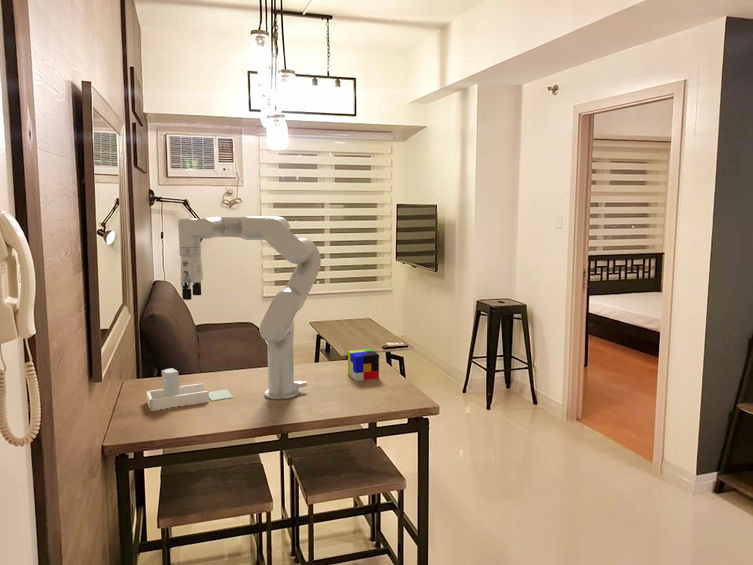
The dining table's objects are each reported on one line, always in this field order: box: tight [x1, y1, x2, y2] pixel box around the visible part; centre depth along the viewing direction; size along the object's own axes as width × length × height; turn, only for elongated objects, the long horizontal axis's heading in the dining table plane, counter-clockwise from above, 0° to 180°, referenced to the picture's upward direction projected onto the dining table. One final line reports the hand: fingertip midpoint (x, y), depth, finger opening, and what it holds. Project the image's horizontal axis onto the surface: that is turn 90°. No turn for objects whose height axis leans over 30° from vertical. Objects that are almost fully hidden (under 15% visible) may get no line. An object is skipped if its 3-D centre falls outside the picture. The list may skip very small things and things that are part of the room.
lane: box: [145, 382, 210, 412], centre depth 215 cm, size 20×11×4 cm, turn 117°
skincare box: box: [161, 367, 180, 397], centre depth 213 cm, size 6×4×12 cm
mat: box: [208, 388, 234, 402], centre depth 222 cm, size 8×10×1 cm
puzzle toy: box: [347, 348, 380, 382], centre depth 244 cm, size 10×10×10 cm
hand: (192, 297), depth 221 cm, fingers open, 9 cm apart
